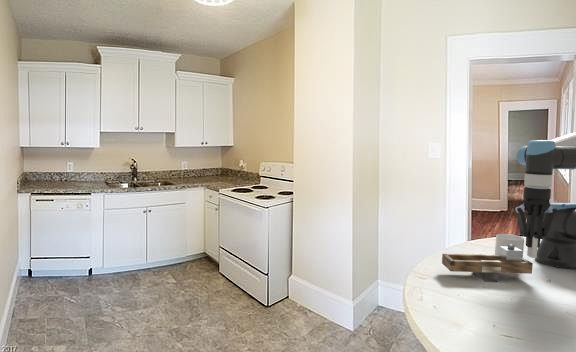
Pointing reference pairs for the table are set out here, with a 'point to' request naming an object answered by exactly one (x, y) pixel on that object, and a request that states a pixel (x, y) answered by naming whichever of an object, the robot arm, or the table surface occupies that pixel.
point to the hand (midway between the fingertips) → (531, 256)
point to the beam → (484, 265)
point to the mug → (508, 242)
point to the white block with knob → (510, 254)
